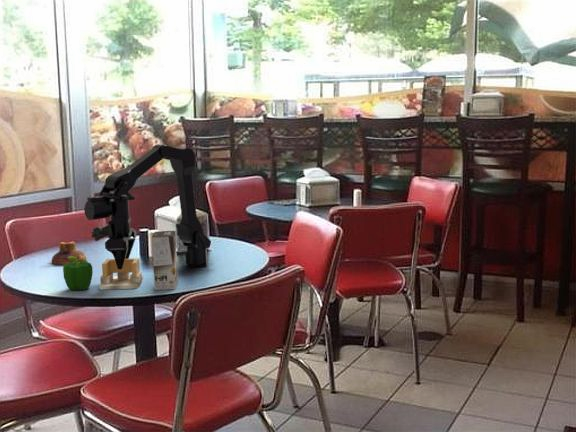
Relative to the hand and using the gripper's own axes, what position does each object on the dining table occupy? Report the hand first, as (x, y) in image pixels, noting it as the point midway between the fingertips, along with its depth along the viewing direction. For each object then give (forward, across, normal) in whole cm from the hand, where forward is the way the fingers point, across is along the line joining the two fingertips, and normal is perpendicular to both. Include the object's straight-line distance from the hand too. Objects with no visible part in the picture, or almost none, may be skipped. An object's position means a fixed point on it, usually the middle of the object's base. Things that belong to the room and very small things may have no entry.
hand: (122, 265), depth 218 cm
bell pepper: (+5, +6, -12) cm, 15 cm away
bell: (+6, -30, -25) cm, 39 cm away
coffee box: (+5, +7, +14) cm, 16 cm away
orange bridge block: (+2, +2, 0) cm, 3 cm away
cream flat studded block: (+5, +2, 0) cm, 6 cm away
